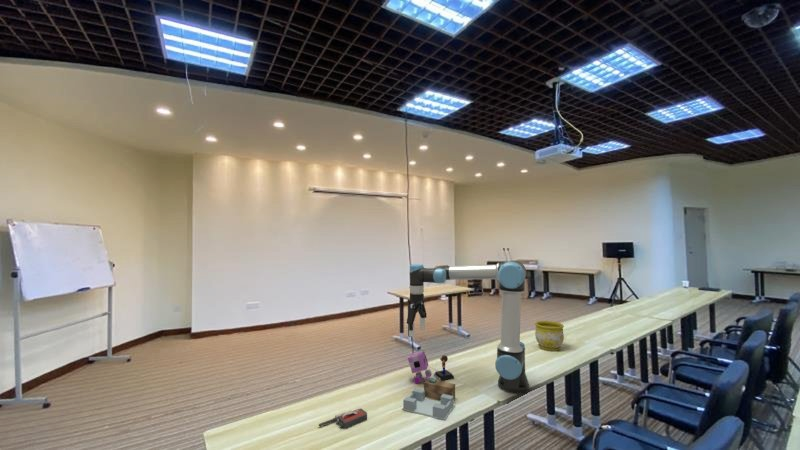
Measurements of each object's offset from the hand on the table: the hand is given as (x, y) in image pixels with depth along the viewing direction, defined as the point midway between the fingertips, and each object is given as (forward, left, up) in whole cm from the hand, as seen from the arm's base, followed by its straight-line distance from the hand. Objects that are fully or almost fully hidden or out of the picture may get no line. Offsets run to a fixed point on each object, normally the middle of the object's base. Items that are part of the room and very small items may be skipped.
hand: (417, 333), depth 183 cm
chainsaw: (+12, +50, -26) cm, 57 cm away
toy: (-1, -2, -26) cm, 26 cm away
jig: (-16, +23, -26) cm, 38 cm away
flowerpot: (-60, -88, -26) cm, 110 cm away
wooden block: (-17, +12, -26) cm, 33 cm away
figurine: (-11, -11, -26) cm, 30 cm away
